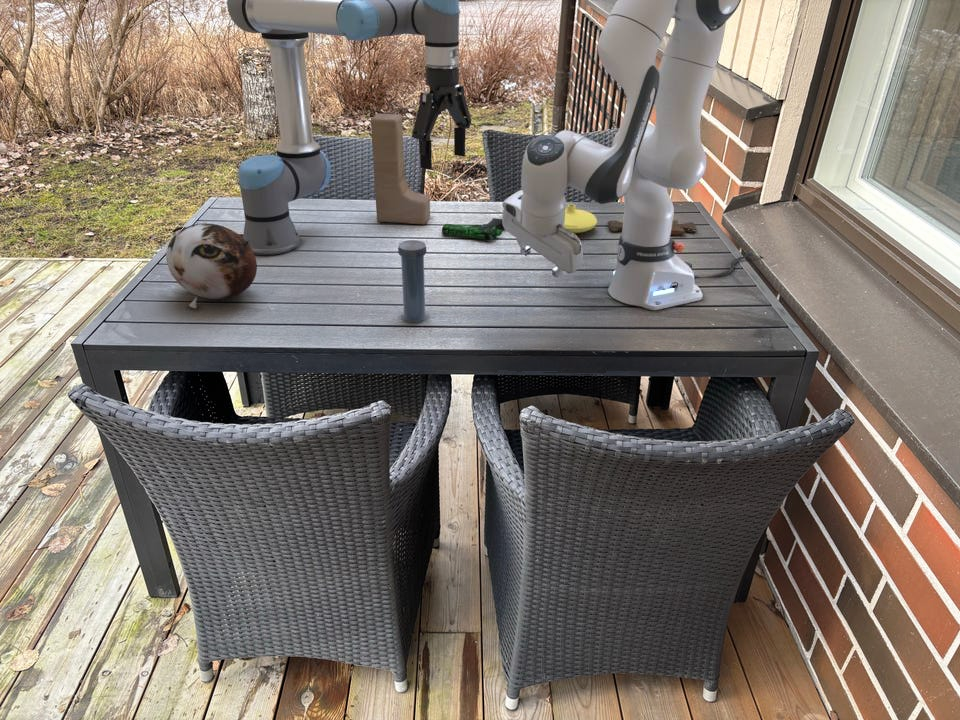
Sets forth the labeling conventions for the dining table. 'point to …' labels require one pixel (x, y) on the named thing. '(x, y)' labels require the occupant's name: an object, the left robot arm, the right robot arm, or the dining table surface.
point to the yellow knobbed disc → (578, 220)
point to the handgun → (476, 230)
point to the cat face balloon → (211, 261)
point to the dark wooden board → (676, 229)
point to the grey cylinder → (413, 289)
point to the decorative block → (394, 175)
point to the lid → (412, 249)
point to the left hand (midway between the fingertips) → (443, 161)
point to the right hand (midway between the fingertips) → (541, 263)
